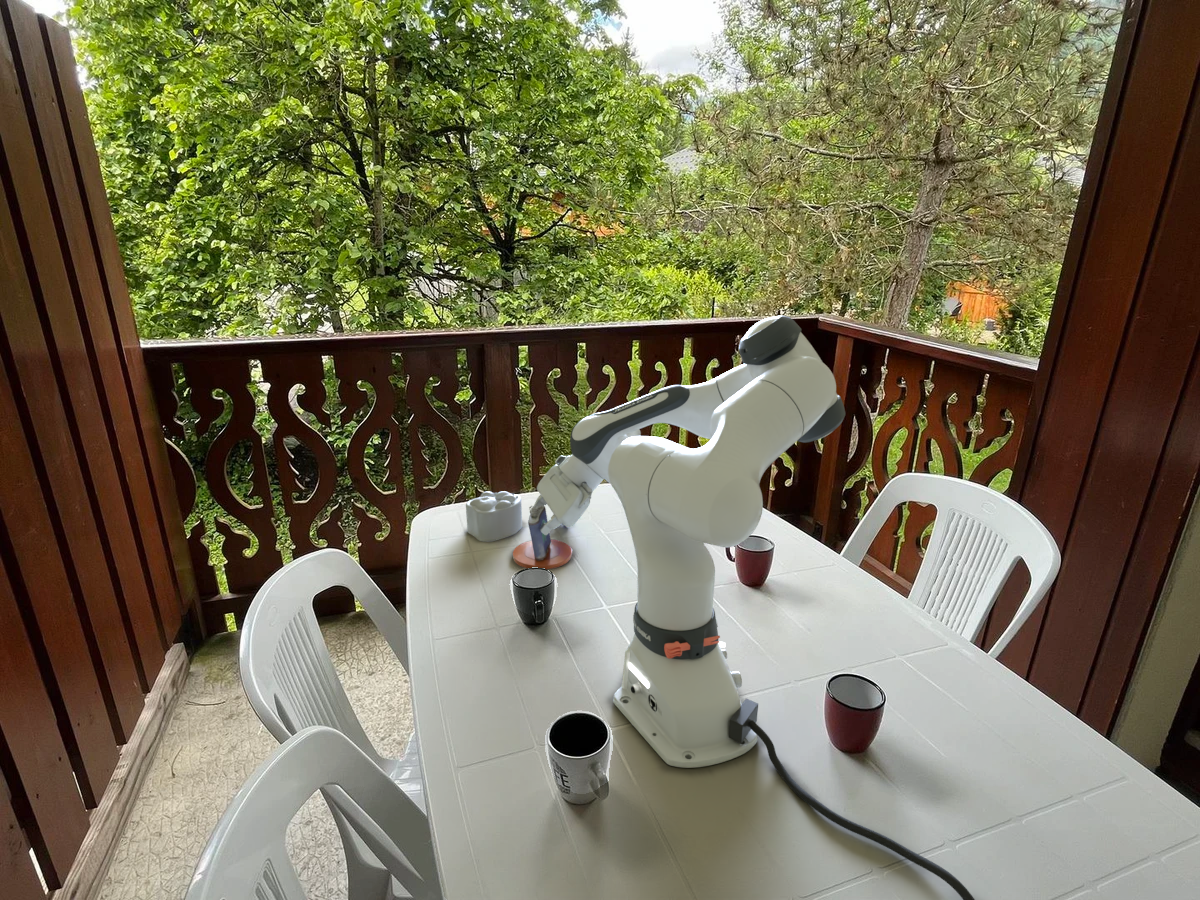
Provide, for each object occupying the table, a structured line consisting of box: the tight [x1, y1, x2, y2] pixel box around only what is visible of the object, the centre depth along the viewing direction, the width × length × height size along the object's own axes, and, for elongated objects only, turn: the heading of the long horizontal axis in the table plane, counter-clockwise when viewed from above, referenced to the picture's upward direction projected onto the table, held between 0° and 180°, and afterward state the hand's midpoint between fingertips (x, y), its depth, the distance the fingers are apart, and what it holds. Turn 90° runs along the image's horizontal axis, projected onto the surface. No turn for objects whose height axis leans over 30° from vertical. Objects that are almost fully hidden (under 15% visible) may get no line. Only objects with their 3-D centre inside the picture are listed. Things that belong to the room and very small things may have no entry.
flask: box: [527, 505, 552, 561], centre depth 138 cm, size 9×3×11 cm, turn 174°
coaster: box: [512, 538, 573, 570], centre depth 140 cm, size 13×13×1 cm
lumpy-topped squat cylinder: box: [465, 490, 523, 543], centre depth 152 cm, size 10×13×9 cm
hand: (537, 523), depth 138 cm, fingers closed on flask, 8 cm apart
